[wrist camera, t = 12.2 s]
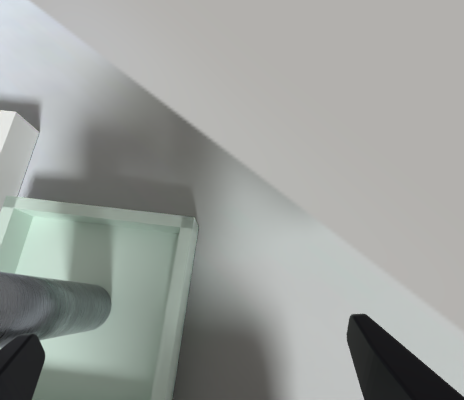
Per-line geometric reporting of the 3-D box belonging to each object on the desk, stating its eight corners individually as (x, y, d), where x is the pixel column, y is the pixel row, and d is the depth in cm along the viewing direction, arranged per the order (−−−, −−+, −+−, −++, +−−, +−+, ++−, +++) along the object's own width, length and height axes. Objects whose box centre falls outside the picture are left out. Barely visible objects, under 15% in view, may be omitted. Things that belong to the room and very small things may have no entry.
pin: (104, 342, 21) (-120, 410, 8) (53, 328, 21) (-251, 370, 8) (123, 286, 22) (-45, 261, 9) (74, 274, 22) (-162, 231, 9)
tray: (168, 427, 20) (157, 447, 17) (-30, 399, 21) (-72, 414, 18) (198, 227, 24) (194, 216, 21) (32, 208, 25) (6, 195, 22)
